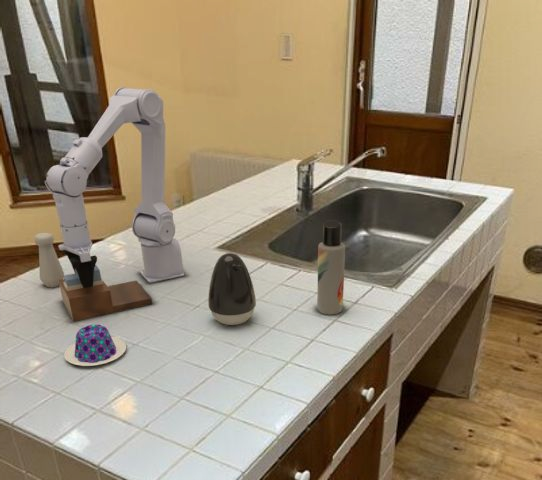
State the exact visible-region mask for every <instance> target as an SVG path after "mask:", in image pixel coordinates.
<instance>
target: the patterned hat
mask: <svg viewBox="0 0 542 480" xmlns="http://www.w3.org/2000/svg"><path fill="white" fill-rule="evenodd" d="M126 350H127V344H126V342H125V341H124V340H123V339H121V338H118V337H116V336H111V334H110V332H109V329H108V328H107V327H106V326H104V325H101V324H87V325H86V326H83V327H81V328H79V329H78V331H77V332H76V334H75V342H74V343H72V344H71V345H70V346H68V347H67V348H66V350H65V351H64V353H63V354H64V355H63V356H64V360H66V361H67V362H68V363H70V364H72V365H76V366H82V367H91V366H99V365H103V364H108V363H111V362H112V361H115V360H117V359H118V358H120V357H121V356H122V355H124V353H126Z"/></svg>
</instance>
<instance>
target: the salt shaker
mask: <svg viewBox="0 0 542 480" xmlns="http://www.w3.org/2000/svg"><path fill="white" fill-rule="evenodd" d="M54 240H55V239H54V236H53V234H52V233H50V232H40V233H37V234H35V236H34V243H35V245H36V246H38V258H39V259H38V260H39V263H38V265H39V279H40V281H41V282H42V283H43V284H44V285H45V287H46V288H56V287H60V285H59V280H62V279H64V276H65V272H64V270H63V267H62V265H61V262H60V260H59V257H58V255H57V252H56V250H55V248H54V244H53V243H54V242H55V241H54Z"/></svg>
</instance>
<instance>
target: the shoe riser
mask: <svg viewBox="0 0 542 480" xmlns="http://www.w3.org/2000/svg"><path fill="white" fill-rule="evenodd" d="M101 279H102V277H101ZM102 281H103V284H101V285H96V286H92V287H88V288H81V289H76V290H71V291H67V290H66V288H65V286H64V283H63V282H65V280H64V278H63V279H62V280H59V285H60V286H59V289H60V294H61V298H62V302H63V304H64V306H65V308H66V310H67V312H68V315H69V316H70V318H71V319H72V321H73V322H77V321H82V320H87V319H91V318H96V317H100V316H105V315H110V314H114V313H118V312H122V311H126V310H131V309H136V308H140V307H146V306H150V305H153V301H152V297H151V296H150V294H148V292H147V291H146V289H144V287H143V286H142V285H141V284H140V283H139V282H138V280H132V281H128V282H123V283H118V284H112V285H107V284H106V282H105V281H104V280H103V279H102Z"/></svg>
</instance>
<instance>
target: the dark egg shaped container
mask: <svg viewBox="0 0 542 480" xmlns="http://www.w3.org/2000/svg"><path fill="white" fill-rule="evenodd" d="M210 277H211V278H210V283H209V289H208V298H207V299H208V300H207V303H208V308H209V310H210V312H211V315H212V316H213V317H214V319H215V320H216V321H217V322H219V323H220V324H223V325H227V326H237V325H241V324H243V323H245V322H247V321H248V320H249V319H250V318H251V317H252V316H253V314H254V312H255V308H256V306H257V299H256V293H255V288H254V283H253V281H252V278H251V275H250V272H249V270H248V267H247V265H246V264H245V262H244V261H243V259H242V258H241V256H239V255H238V254H236V253H233V252H227V253H223V254H222V255H221V256H220V257H218V259H217V260H216V262H215V264H214V267H213V270H212V273H211V276H210Z"/></svg>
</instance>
